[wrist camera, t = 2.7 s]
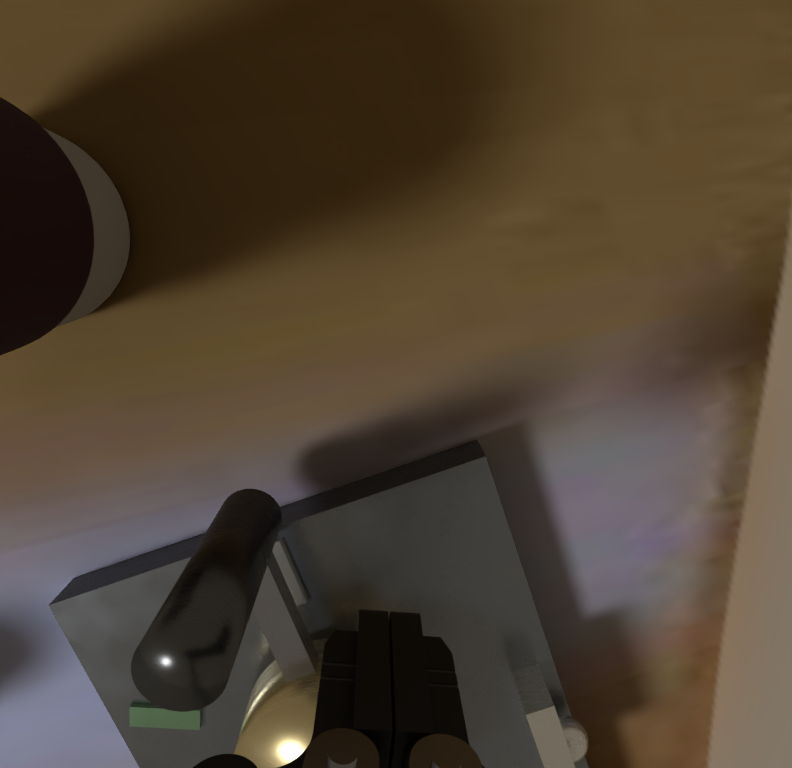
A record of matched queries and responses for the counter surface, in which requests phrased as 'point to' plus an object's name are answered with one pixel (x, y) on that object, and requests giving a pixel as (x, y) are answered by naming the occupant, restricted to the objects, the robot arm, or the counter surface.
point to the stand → (355, 613)
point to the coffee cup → (53, 231)
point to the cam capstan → (235, 634)
